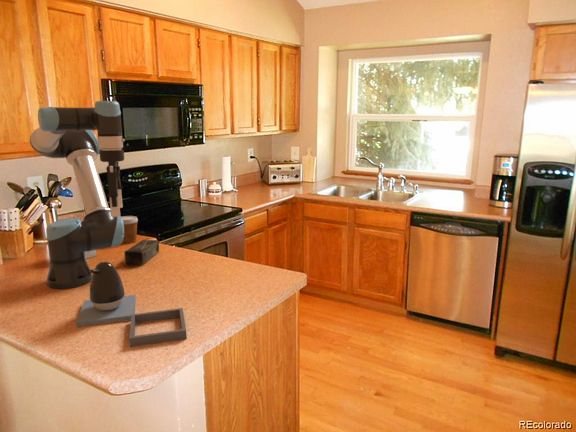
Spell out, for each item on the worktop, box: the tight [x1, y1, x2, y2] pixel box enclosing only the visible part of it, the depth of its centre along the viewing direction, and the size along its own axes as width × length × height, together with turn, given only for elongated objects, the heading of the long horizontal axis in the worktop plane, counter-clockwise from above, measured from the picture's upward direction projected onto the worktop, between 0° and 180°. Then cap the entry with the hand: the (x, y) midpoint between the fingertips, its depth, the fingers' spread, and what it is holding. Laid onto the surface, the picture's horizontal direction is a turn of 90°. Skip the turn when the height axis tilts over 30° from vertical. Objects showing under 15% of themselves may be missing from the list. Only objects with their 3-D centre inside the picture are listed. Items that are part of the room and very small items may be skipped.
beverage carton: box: [124, 238, 160, 267], centre depth 188 cm, size 8×19×7 cm, turn 175°
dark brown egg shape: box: [89, 261, 126, 311], centre depth 137 cm, size 10×10×15 cm
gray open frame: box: [128, 307, 187, 348], centre depth 127 cm, size 15×15×2 cm
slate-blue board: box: [76, 294, 137, 328], centre depth 138 cm, size 16×16×2 cm
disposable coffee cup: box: [121, 215, 139, 244], centre depth 212 cm, size 10×10×12 cm
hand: (117, 211), depth 149 cm, fingers open, 13 cm apart
